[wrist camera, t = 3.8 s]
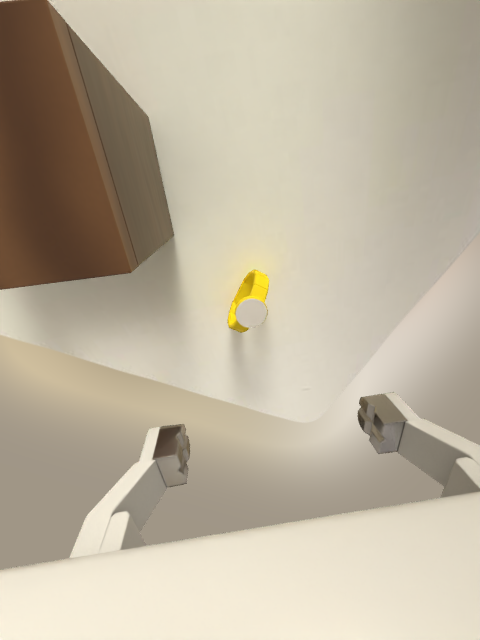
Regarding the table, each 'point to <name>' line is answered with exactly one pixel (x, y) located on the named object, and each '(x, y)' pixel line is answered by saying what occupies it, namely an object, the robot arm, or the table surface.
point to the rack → (70, 159)
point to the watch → (249, 303)
